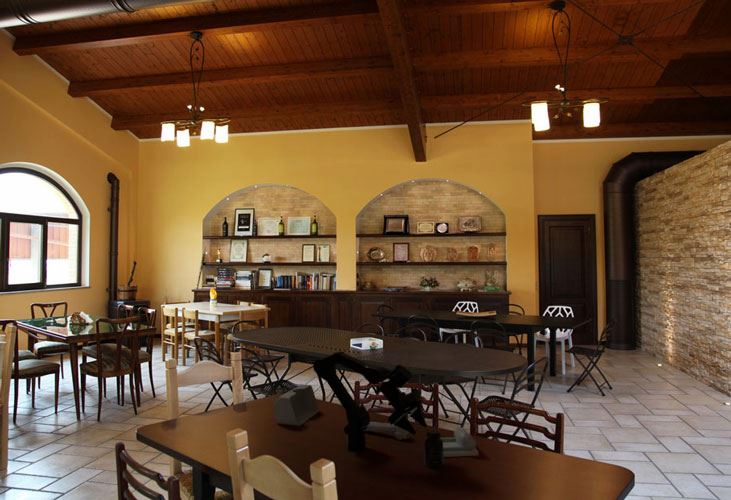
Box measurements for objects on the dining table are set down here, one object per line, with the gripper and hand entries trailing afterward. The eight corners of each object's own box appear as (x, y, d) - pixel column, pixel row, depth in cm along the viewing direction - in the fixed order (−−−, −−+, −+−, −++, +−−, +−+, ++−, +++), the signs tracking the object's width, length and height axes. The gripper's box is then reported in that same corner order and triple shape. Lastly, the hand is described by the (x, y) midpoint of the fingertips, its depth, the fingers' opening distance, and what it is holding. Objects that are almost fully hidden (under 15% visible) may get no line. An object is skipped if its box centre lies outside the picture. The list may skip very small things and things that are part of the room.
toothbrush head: (357, 419, 225) (409, 419, 213) (359, 434, 225) (411, 436, 213) (351, 422, 221) (404, 423, 209) (353, 438, 220) (406, 440, 208)
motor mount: (436, 457, 192) (436, 439, 192) (427, 443, 206) (427, 427, 206) (478, 455, 194) (478, 437, 194) (466, 442, 208) (466, 426, 208)
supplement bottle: (422, 461, 188) (422, 428, 188) (440, 461, 188) (440, 427, 188) (426, 469, 181) (426, 434, 181) (445, 468, 181) (445, 434, 182)
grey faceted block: (289, 408, 255) (289, 382, 255) (319, 411, 250) (320, 385, 250) (265, 423, 231) (265, 395, 231) (298, 427, 226) (298, 398, 227)
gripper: (395, 387, 182) (424, 423, 176) (418, 377, 198) (445, 410, 192) (376, 406, 186) (403, 443, 180) (400, 395, 202) (426, 428, 196)
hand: (420, 430), depth 187 cm, fingers open, 9 cm apart
